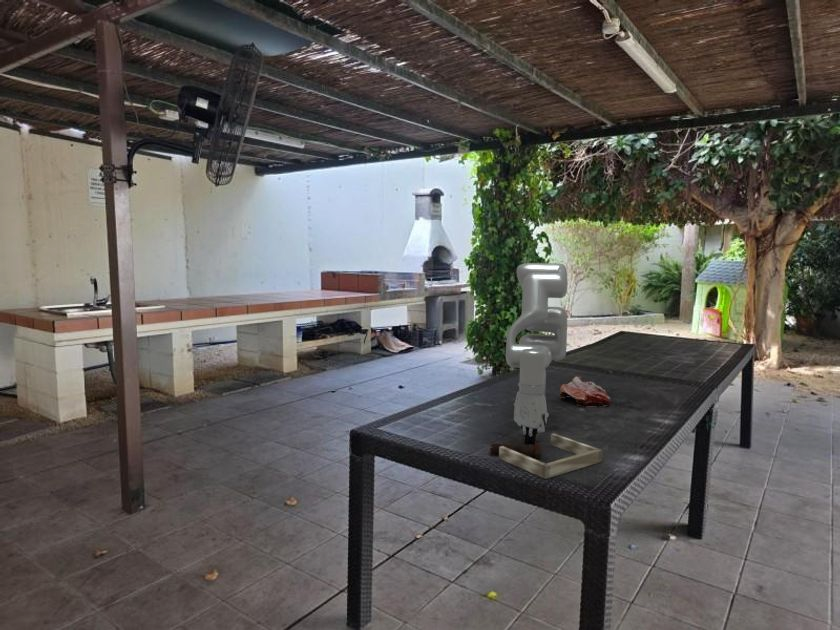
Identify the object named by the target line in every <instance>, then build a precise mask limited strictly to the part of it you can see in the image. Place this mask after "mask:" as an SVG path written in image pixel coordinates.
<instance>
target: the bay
mask: <svg viewBox="0 0 840 630" xmlns="http://www.w3.org/2000/svg"><path fill="white" fill-rule="evenodd" d="M550 445H551V446H553V447H556V448H559V449H561V450H563V451H566V452H568V453H571V454H574V455H571V456H568V457H564V458H561V459H557V460H554V461H551V462H547V463H545V462H542V461H541V460H537V459H535V458H533V457H532V456H529V455H523V454H521V453H518V452H516V451H514V450H511V449H509V448H506V447H504V446H501V447H499V454H498V459H500V460H502V461H503V462H505V463H509V464H511V465H512V466H515V467H518V468H520V469H522V470H524V471H526V472H529V473H531V474H534V475H536V476H538V477H540V478H542V479H545V480H547V479H550V478H553V477H557V476H560V475H564V474H566V473H569V472H573V471H575V470H580V469H581V468H582V469H583V468H586V467H589V466H592V465H595V464H598V463H601V462H603V449H601V448H598V447H595V446H592V445H589V444H586V443H583V442H580V441H577V440H575V439H571V438H568V437H565V436H563V435H559V434H557V433H551V434H550Z"/></svg>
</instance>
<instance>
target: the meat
mask: <svg viewBox="0 0 840 630" xmlns="http://www.w3.org/2000/svg"><path fill="white" fill-rule="evenodd" d="M559 391H560V392H559V395H560V398H562V397H566V396H571V397H572V398H573V399H575V402H576V407H577V406H578V405H581V406H603V405H610V402H611V398H610V397H609V395H608V394H607V391H606V389H604V388H603V387H601V386H600V385H596V383H594V381H591V380H590V381H584V379H583V378H582V377H581V376H575V377H574V378H572V379H571V381H570V382H568V383H563V384H562V385H561V386H560V388H559ZM581 406H580V407H581Z"/></svg>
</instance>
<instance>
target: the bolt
mask: <svg viewBox="0 0 840 630" xmlns="http://www.w3.org/2000/svg"><path fill="white" fill-rule="evenodd" d="M489 446H490V448H489V452H490V453H491V454H495V455H499V447H501V446H504V447H506V448H509V449H511V450H514V451H516V452H518V453H521V454H523V455H526V456H528V457H534V459H535V460H538V461H541V459H542V457H541V455H542V449H541V448H542V447H541V446H542V443H541V441H540V440H536V441H535V444H529V445H525V443H524V444H519V443H509V441H508V440H502V441H501V443H492V444H490V445H489Z"/></svg>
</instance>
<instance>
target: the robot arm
mask: <svg viewBox="0 0 840 630" xmlns="http://www.w3.org/2000/svg"><path fill="white" fill-rule="evenodd" d="M516 278H517V281H518V283H519V286H520V288H521V290H522V297H521V298H522V299H521V300H522V301H521V315H520V316H519V317H518V318H516V320H514V322H513V323H512V324H511V326H510V328H509V330H508V331H507V335H506V345H505V361H506V364H507V365H508V366H509V367H510V368H519V382H518V383H517V385H518V387H519V389H518V391H517V393H516V395H515V402H514V403H513V407H514V409H513V421H514V422H515V423H516V424H517V425H518V426H519V427H521V430H522V434H523V435H524V444H525V445H529V444H535V441H537V438H536V437H537V436H538V435H539V434H542V433H545V431H546V430H545V428H546V426H547V423H548V422H547V421H548V418H549V417H550V414H549V412H548V409H547V407H548V406H547V399H546V398H547V397H546V385H547V384H546V383H547V380H546V379H547V371H546V370H547V368H548V367H549V365H551V362H552V361H562V360H563V359H565V357H566V354H567V343H568V340H567V339H568V313H567V311H566V310H565V308H563V307H560V306H549V299H562V298H564V297H565V296H566V295H567V291H568V271H567V267H566V266H565V265H564V264H563V263H559V262H558V263H555V262H550V263H549V262H546V263H545V262H527V263H522V264H519V265H518V266H517V268H516ZM524 330H526V331H529V332H537V333H528V334H527V333H526V334H524V335H522V336H521V337H520V339H519V341H518V344H517V343H516V338H517V336H518V334H520V333H521V332H522V331H524ZM538 332H539V333H542V334H539V333H538ZM543 333H552V334H543Z"/></svg>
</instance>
